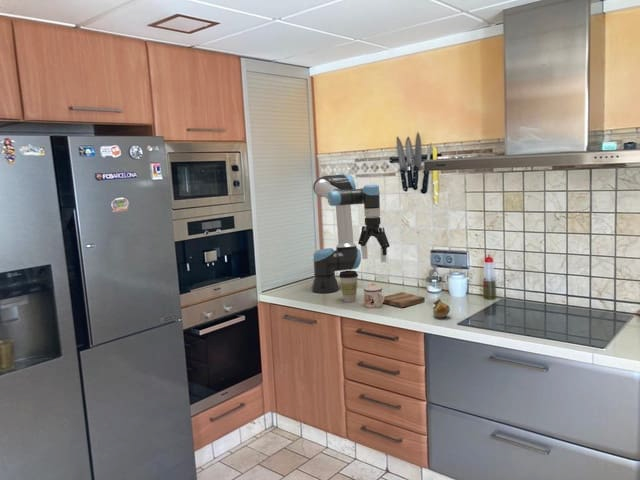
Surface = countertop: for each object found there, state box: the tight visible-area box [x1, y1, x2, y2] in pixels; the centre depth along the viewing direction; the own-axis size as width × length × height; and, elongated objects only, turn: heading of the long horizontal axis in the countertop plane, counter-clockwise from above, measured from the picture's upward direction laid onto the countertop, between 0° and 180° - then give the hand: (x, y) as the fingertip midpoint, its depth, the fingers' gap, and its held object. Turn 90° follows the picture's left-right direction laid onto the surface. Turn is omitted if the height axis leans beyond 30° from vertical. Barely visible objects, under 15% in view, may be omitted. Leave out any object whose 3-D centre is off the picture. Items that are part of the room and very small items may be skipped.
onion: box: [432, 298, 451, 319], centre depth 235 cm, size 8×8×8 cm
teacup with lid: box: [363, 282, 385, 309], centre depth 259 cm, size 12×9×12 cm
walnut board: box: [382, 291, 426, 309], centre depth 264 cm, size 16×16×2 cm
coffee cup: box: [338, 270, 359, 303], centre depth 272 cm, size 10×10×15 cm
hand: (374, 260), depth 256 cm, fingers open, 13 cm apart
